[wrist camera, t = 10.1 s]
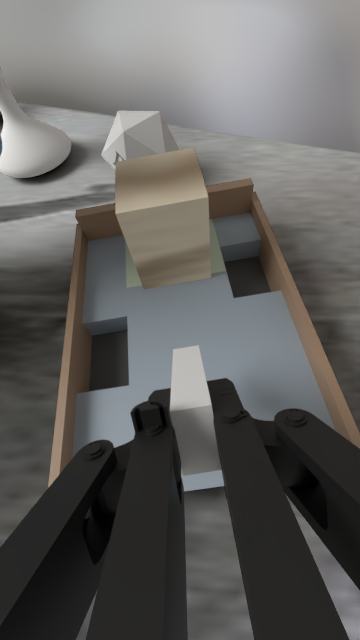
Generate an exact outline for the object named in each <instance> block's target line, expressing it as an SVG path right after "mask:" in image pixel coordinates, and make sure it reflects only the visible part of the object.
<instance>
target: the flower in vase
mask: <svg viewBox="0 0 360 640" xmlns="http://www.w3.org/2000/svg"><path fill="white" fill-rule="evenodd" d="M0 111H1V113H2V116H3V121H4V123H3V129H2V132H1V138H2V153H1V156H0V172H1V173H3V174H5V175H7V176H9V177H13V178H28V177H34V176H38V175H41V174H44V173H46V172H48V171H51V170H52V169H54V168H56V167H57V166H58V165H60V164H61V163H62V162H63V161H64V160H65V159H66V158H67V157H68V155H69V154H70V151H71V140H70V138H69V137H68V136H67V135H66V134H65V133H64V132H63V131H62V130H60V129H58V128H56V127H55V126H52V125H50V124H48V123H45V122H42V121H40V120H37V119H35V118H33V117H30V116H29V115H27V114H26V113H24V112H23V111H22V110H21V108H20V107H19V105H18V104H17V103H16V101H15V99H14V97H13V96H12V94H11V92H10V90H9V88H8V86H7V83H6V81H5V79H4V76H3V74H2V71H1V68H0Z"/></svg>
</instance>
